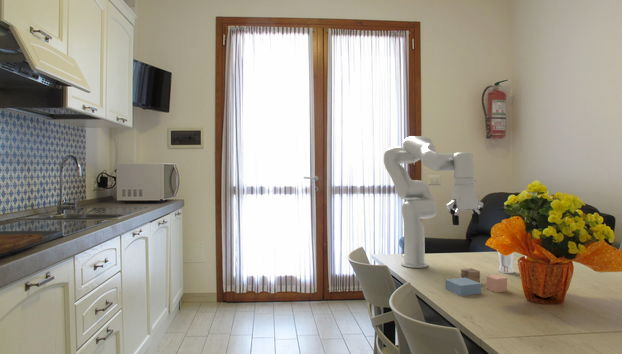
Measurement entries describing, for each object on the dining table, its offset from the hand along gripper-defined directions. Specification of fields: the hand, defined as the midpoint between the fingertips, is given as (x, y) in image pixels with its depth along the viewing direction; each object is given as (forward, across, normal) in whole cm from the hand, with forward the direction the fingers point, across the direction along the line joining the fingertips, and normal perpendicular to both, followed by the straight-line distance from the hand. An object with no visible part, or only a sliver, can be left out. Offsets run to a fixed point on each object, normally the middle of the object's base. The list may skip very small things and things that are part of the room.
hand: (465, 224), depth 163 cm
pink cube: (+24, -3, +12) cm, 27 cm away
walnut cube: (+24, -1, 0) cm, 24 cm away
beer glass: (+23, -27, -8) cm, 37 cm away
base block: (+24, +10, +9) cm, 28 cm away
